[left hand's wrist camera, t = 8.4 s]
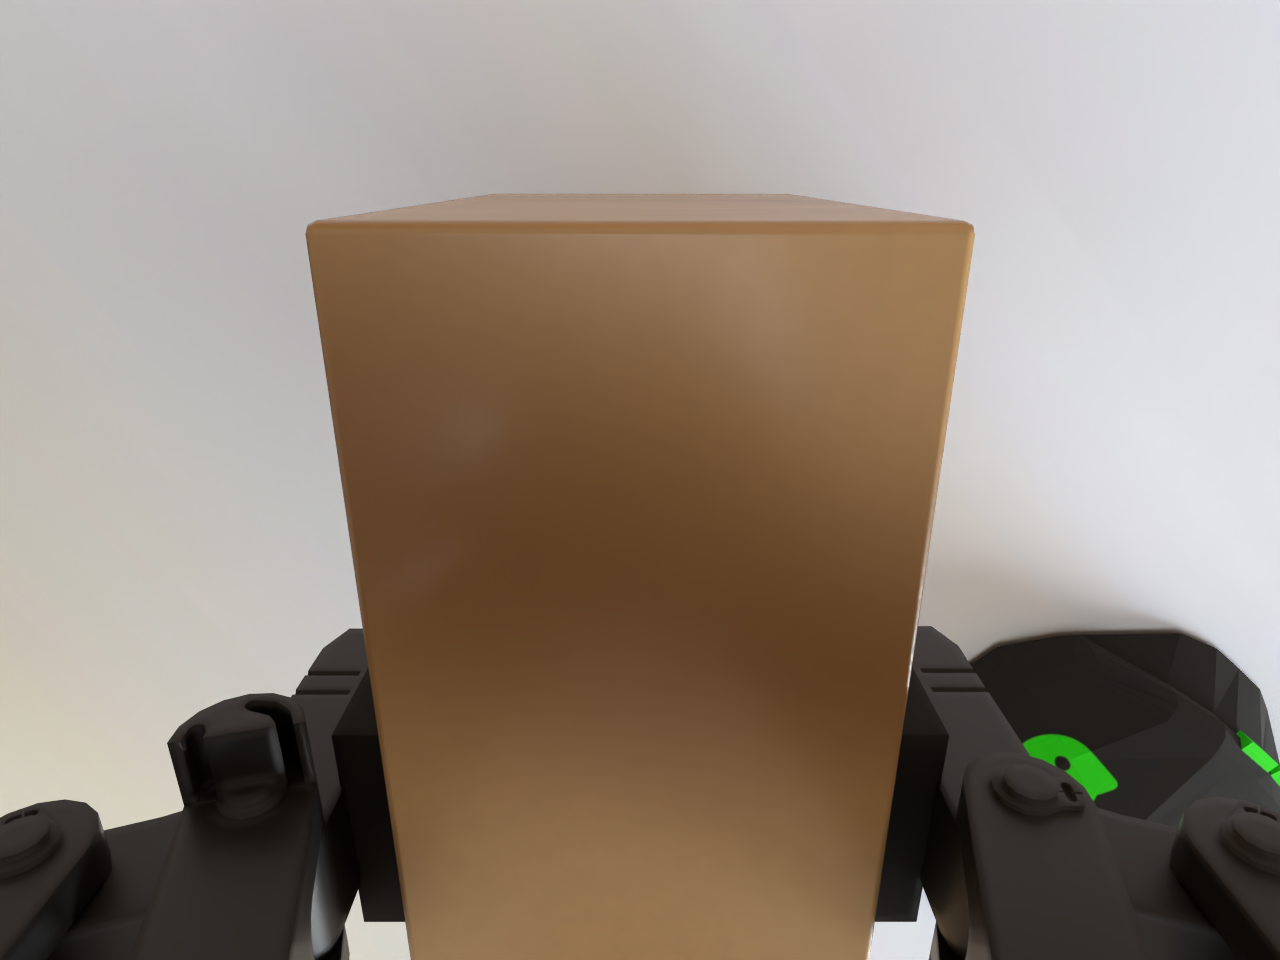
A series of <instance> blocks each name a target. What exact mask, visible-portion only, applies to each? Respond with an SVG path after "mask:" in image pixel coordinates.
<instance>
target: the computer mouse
mask: <svg viewBox="0 0 1280 960" xmlns="http://www.w3.org/2000/svg"><path fill="white" fill-rule="evenodd" d="M971 666H972V668H973V673H976V674H977V675H978V677H979V678H980V680H981V682H982V683H983V685H984V686H985V691H986V692H989V694H990V695H991V697H992V698H993V700H994V701H995V703H996V704H997V706H998V707H999V709H1000V710H1001V712H1002V713H1003V715H1004V716H1005V718H1006V720H1007V721H1008V723H1009V724H1010V726H1011V727H1012V729H1013V730H1014V732H1015V733H1016V735H1017V736H1018V738H1019V739H1020V741H1021V742H1022V744H1023V745H1024V747H1025V748H1026V750H1027V751H1028V753H1029V754H1030V756H1031V757H1035V758H1038V759H1042V760H1044V761H1046V762H1048V763H1050V764H1052V765H1054V766H1056V767H1058V768H1060V769H1062V770H1064V771H1066V772H1067V773H1068V774H1069V775H1070V776H1072V777H1073V778H1074V779H1075V780H1076V781H1078V782H1079V783H1080V784H1081V785H1082V786H1084V787H1085V789H1086V790H1087V792H1088V794H1089V795H1090V797H1091V798H1092V800H1093V801H1094V803H1095V805H1096V807H1098V808H1101V809H1104V810H1107V811H1111V812H1114V813H1117V814H1121V815H1125V816H1130V817H1134V818H1138V819H1143V820H1147V821H1151V822H1156V823H1160V824H1164V825H1169V826H1173V827H1177V828H1178V827H1179V824H1180V821H1181V818H1182V814H1183V811H1184V809H1185V808H1187V807H1188V806H1189V805H1190V804H1191V803H1193V802H1194V801H1195V800H1197V799H1204V798H1210V797H1217V796H1218V797H1225V798H1232V799H1239V800H1245V801H1248V802H1251V803H1254V804H1257V805H1259V806H1263V807H1265V808H1268V809H1271V810H1274V811H1276V812H1278V813H1280V764H1279V759H1278V755H1277V751H1276V746H1275V742H1274V737H1273V733H1272V729H1271V724H1270V720H1269V716H1268V711H1267V708H1266V705H1265V702H1264V700H1263V697H1262V694H1261V691H1260V689H1259V688H1258V687H1257V686H1256V685H1255V684H1254V683H1253V682H1252V681H1251V680H1250V679H1249V678H1248V677H1247V676H1246V675H1245V674H1244V673H1243V672H1242V671H1240V670H1239V669H1238V668H1237V667H1236V666H1235V665H1234V664H1233V663H1232V662H1231V661H1230V660H1228V659H1227V658H1226V657H1225V656H1224V655H1223V654H1222V653H1221V652H1220V651H1219V650H1217V649H1216V648H1214V647H1211V646H1209V645H1206V644H1204V643H1201V642H1199V641H1197V640H1194V639H1192V638H1189V637H1187V636H1185V635H1182V634H1140V635H1079V636H1060V637H1055V638H1049V639H1043V640H1037V641H1031V642H1025V643H1020V644H1014V645H1008V646H1002V647H998V648H996V649H995V650H993V651H992V652H990V653H989V654H988V655H986V656H985V657H983V658H982V659H980V660H979V661H977V662H976V663H974V664H973V665H971Z"/></svg>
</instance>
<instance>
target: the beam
mask: <svg viewBox="0 0 1280 960" xmlns="http://www.w3.org/2000/svg"><path fill="white" fill-rule="evenodd" d="M974 236H975V233H974V228H973V225H972V224H969V223H967V222H965V221H961V220H955V219H948V218H941V217H935V216H928V215H922V214H915V213H908V212H902V211H895V210H889V209H882V208H875V207H869V206H862V205H856V204H849V203H842V202H836V201H829V200H823V199H816V198H810V197H803V196H796V195H790V194H492V195H485V196H478V197H471V198H465V199H458V200H451V201H445V202H438V203H431V204H425V205H418V206H411V207H405V208H398V209H391V210H385V211H378V212H371V213H365V214H358V215H351V216H344V217H338V218H331V219H324V220H318V221H315V222H313V223H311V224H308V226H307V230H306V240H307V247H308V254H309V261H310V268H311V274H312V281H313V288H314V295H315V302H316V309H317V316H318V323H319V330H320V336H321V343H322V350H323V357H324V364H325V371H326V378H327V385H328V392H329V399H330V405H331V412H332V419H333V426H334V433H335V440H336V447H337V454H338V461H339V467H340V474H341V481H342V488H343V495H344V502H345V509H346V516H347V523H348V529H349V536H350V543H351V550H352V557H353V564H354V571H355V578H356V585H357V592H358V598H359V605H360V612H361V619H362V626H363V633H364V640H365V647H366V654H367V660H368V667H369V674H370V681H371V688H372V695H373V702H374V709H375V716H376V722H377V729H378V736H379V743H380V750H381V757H382V764H383V771H384V778H385V785H386V791H387V798H388V805H389V812H390V819H391V826H392V833H393V840H394V847H395V853H396V860H397V867H398V874H399V881H400V888H401V895H402V902H403V909H404V916H405V922H406V929H407V936H408V943H409V950H410V957H411V960H869V957H870V950H871V943H872V936H873V929H874V922H875V916H876V909H877V902H878V895H879V888H880V881H881V874H882V868H883V861H884V854H885V847H886V840H887V833H888V826H889V820H890V813H891V806H892V799H893V792H894V785H895V778H896V772H897V765H898V758H899V751H900V744H901V737H902V730H903V724H904V717H905V710H906V703H907V696H908V689H909V682H910V675H911V669H912V662H913V655H914V648H915V641H916V634H917V627H918V621H919V614H920V607H921V600H922V593H923V586H924V579H925V573H926V566H927V559H928V552H929V545H930V538H931V531H932V525H933V518H934V511H935V504H936V497H937V490H938V483H939V477H940V470H941V463H942V456H943V449H944V442H945V435H946V428H947V422H948V415H949V408H950V401H951V394H952V387H953V380H954V374H955V367H956V360H957V353H958V346H959V339H960V332H961V326H962V319H963V312H964V305H965V298H966V291H967V284H968V278H969V271H970V264H971V257H972V250H973V243H974Z"/></svg>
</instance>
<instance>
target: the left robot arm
mask: <svg viewBox="0 0 1280 960" xmlns="http://www.w3.org/2000/svg"><path fill="white" fill-rule="evenodd" d="M167 744H168V748H169V752H170V755H171V759H172V763H173V766H174V770H175V774H176V777H177V781H178V785H179V788H180V792H181V796H182V799H183V803H184V808H183V811H180V812H177V813H174V814H171V815H167V816H164V817H160V818H156V819H152V820H147V821H143V822H139V823H134V824H130V825H126V826H121V827H117V828H113V829H108V830H103V827H102V824H101V821H100V818H99V815H98V813H97V812H96V811H95V810H94V809H93V808H91V807H90V806H89V805H88V804H87V803H84V802H78V801H71V800H58V801H51V802H44V803H37V804H34V805H31V806H29V807H26V808H23V809H20V810H17V811H14V812H11V813H8V814H6V815H5V816H3V817H1V818H0V960H349V955H350V954H349V947H348V941H347V935H346V930H345V925H344V924H345V922H346V919H347V917H348V914H349V912H350V909H351V906H352V904H353V901H354V899H355V896H356V894H357V891H358V889H359V895H360V900H361V906H362V912H363V917H364V922H405V916H404V909H403V902H402V895H401V888H400V881H399V874H398V867H397V860H396V853H395V847H394V840H393V833H392V826H391V819H390V812H389V805H388V798H387V791H386V785H385V778H384V771H383V764H382V757H381V750H380V743H379V736H378V729H377V722H376V716H375V709H374V702H373V695H372V688H371V681H370V674H369V667H368V660H367V654H366V647H365V640H364V633H363V629H349V630H347V631H346V632H345V633H343V634H342V635H340V636H339V637H338V638H336V639H335V640H334V641H332V642H331V643H330V644H328V645H327V646H326V647H324V648H323V649H322V651H321V652H320V654H319V655H318V657H317V658H316V660H315V661H314V663H313V665H312V666H311V668H310V669H309V671H308V676H305V677H304V678H303V680H302V681H301V683H300V684H299V686H298V687H297V689H296V694H295V695H292V697H291V698H290V697H286V696H282V695H278V694H274V693H265V694H248V695H244V696H240V697H236V698H231V699H227V700H224V701H221V702H219V703H217V704H215V705H213V706H210V707H208V708H206V709H204V710H202V711H199V712H198V713H197V714H195V715H194V716H193V717H191V718H190V719H189V720H187V721H186V722H185V723H183V724H182V725H181V726H179V727H178V729H177V730H176V732H175V733H174V734H173V736H172V737H171V738H170V740H169V741H168V743H167ZM922 887H923V888H924V891H925V893H926V896H927V898H928V901H929V903H930V906H931V909H932V911H933V914H934V916H935V919H936V925H935V930H934V935H933V940H932V946H931V951H930V956H929V960H1280V813H1278V812H1276V811H1274V810H1271V809H1268V808H1265V807H1263V806H1259V805H1257V804H1254V803H1251V802H1248V801H1245V800H1239V799H1232V798H1225V797H1218V796H1217V797H1210V798H1204V799H1197V800H1195V801H1194V802H1193V803H1191V804H1190V805H1189V806H1188V807H1187V808H1185V809H1184V811H1183V814H1182V818H1181V821H1180V824H1179V827H1178V828H1177V827H1173V826H1169V825H1164V824H1160V823H1156V822H1151V821H1147V820H1143V819H1138V818H1134V817H1130V816H1125V815H1121V814H1117V813H1114V812H1111V811H1107V810H1104V809H1101V808H1098V807H1096V805H1095V803H1094V801H1093V800H1092V798H1091V797H1090V795H1089V794H1088V792H1087V790H1086V789H1085V787H1084V786H1082V785H1081V784H1080V783H1079V782H1078V781H1076V780H1075V779H1074V778H1073V777H1072V776H1070V775H1069V774H1068V773H1067V772H1066V771H1064V770H1062V769H1060V768H1058V767H1056V766H1054V765H1052V764H1050V763H1048V762H1046V761H1044V760H1042V759H1038V758H1035V757H1031V756H1030V754H1029V753H1028V751H1027V750H1026V748H1025V747H1024V745H1023V744H1022V742H1021V741H1020V739H1019V738H1018V736H1017V735H1016V733H1015V732H1014V730H1013V729H1012V727H1011V726H1010V724H1009V723H1008V721H1007V720H1006V718H1005V716H1004V715H1003V713H1002V712H1001V710H1000V709H999V707H998V706H997V704H996V703H995V701H994V700H993V698H992V697H991V695H990V694H989V692H986V691H985V686H984V685H983V683H982V682H981V680H980V678H979V677H978V675H977V674H976V673H973V668H972V666H971V665H970V663H969V662H968V660H967V659H966V657H965V656H964V654H963V653H962V651H961V650H960V648H959V647H958V645H956V644H955V643H953V642H952V641H951V640H949V639H948V638H947V637H945V636H944V635H943V634H941V633H940V632H938V631H937V630H936V629H934V628H933V627H932V626H918V627H917V634H916V641H915V648H914V655H913V662H912V669H911V675H910V682H909V689H908V696H907V703H906V710H905V717H904V724H903V730H902V737H901V744H900V751H899V758H898V765H897V772H896V778H895V785H894V792H893V799H892V806H891V813H890V820H889V826H888V833H887V840H886V847H885V854H884V861H883V868H882V874H881V881H880V888H879V895H878V902H877V909H876V916H875V922H916V921H917V915H918V909H919V904H920V898H921V893H922Z"/></svg>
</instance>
